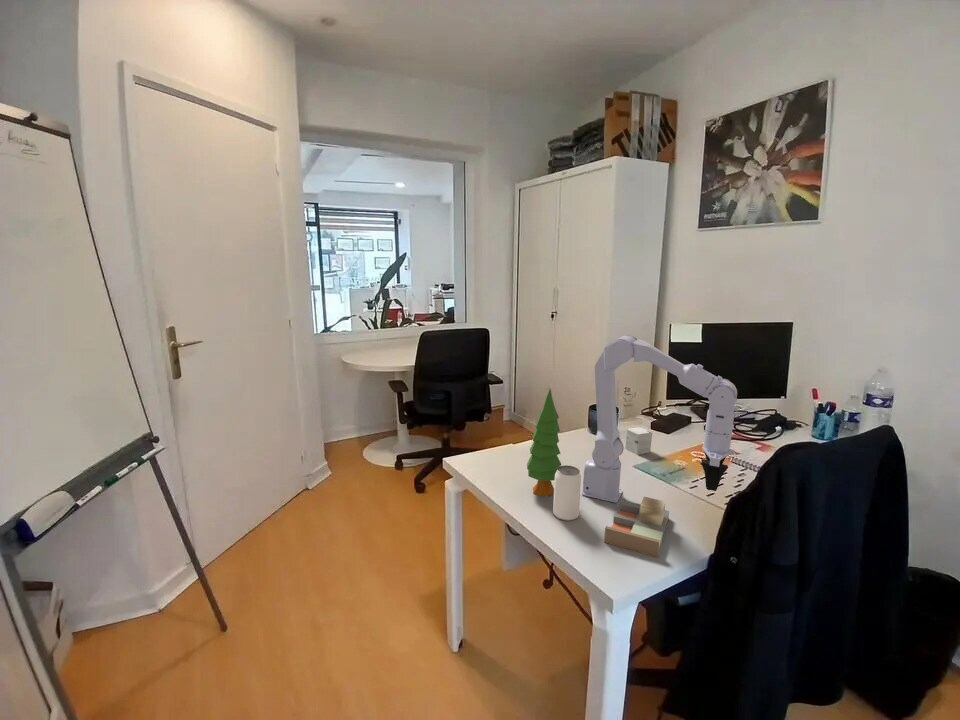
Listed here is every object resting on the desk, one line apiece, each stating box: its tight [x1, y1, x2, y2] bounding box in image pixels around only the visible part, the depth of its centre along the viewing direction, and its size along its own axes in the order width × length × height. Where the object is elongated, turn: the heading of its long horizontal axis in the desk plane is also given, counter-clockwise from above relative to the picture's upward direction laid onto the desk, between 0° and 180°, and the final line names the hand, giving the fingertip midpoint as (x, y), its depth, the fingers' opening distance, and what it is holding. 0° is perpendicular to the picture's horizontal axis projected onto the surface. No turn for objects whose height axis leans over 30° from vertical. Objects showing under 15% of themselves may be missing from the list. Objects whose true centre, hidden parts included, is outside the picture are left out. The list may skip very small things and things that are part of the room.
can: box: [552, 464, 582, 522], centre depth 118 cm, size 6×6×12 cm
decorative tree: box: [526, 387, 563, 497], centre depth 128 cm, size 10×9×30 cm
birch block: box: [639, 496, 667, 526], centre depth 113 cm, size 5×5×4 cm
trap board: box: [603, 499, 670, 558], centre depth 112 cm, size 12×18×4 cm, turn 152°
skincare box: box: [624, 426, 653, 455], centre depth 161 cm, size 6×6×7 cm
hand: (711, 483), depth 115 cm, fingers open, 7 cm apart
